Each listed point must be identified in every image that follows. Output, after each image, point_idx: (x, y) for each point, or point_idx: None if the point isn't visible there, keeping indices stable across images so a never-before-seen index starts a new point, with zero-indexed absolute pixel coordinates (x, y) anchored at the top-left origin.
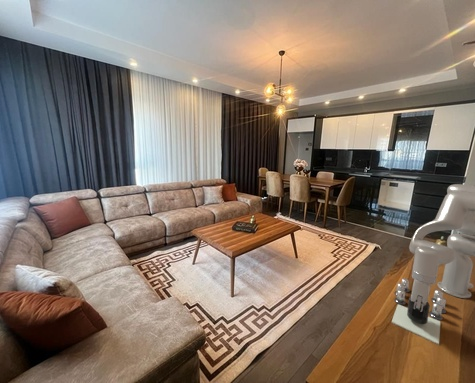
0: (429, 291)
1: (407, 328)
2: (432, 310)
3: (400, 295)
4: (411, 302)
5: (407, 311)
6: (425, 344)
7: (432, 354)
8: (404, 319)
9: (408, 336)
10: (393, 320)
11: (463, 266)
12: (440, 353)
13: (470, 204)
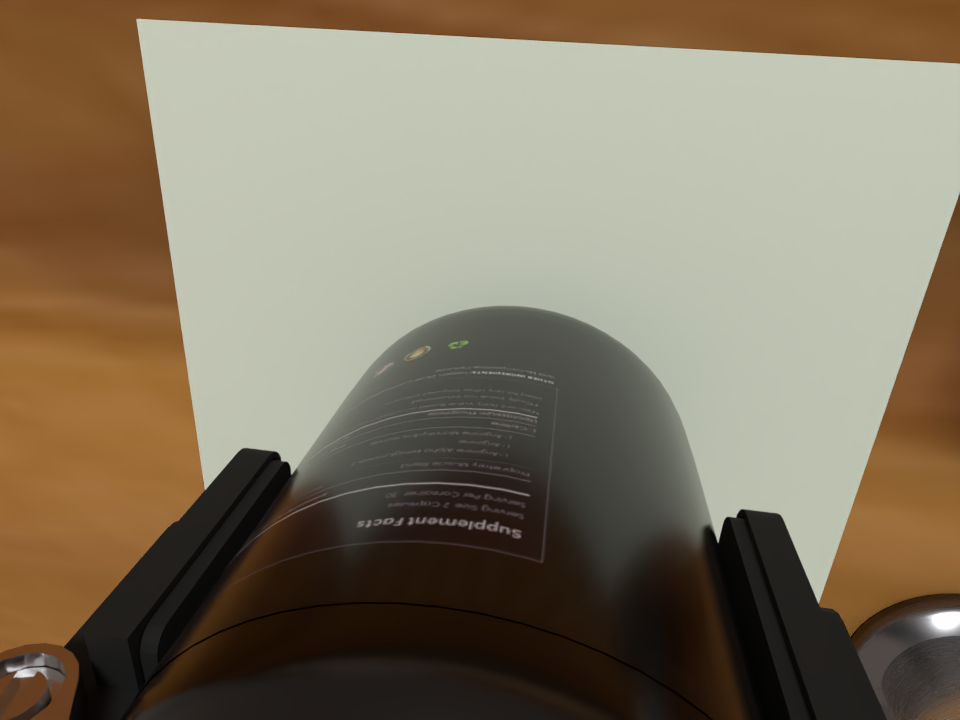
0: None
1: (191, 296)
2: None
3: None
4: (141, 703)
5: (454, 343)
6: (104, 486)
7: (2, 534)
8: (419, 243)
9: (58, 306)
10: (200, 50)
11: None
12: (101, 600)
13: None
